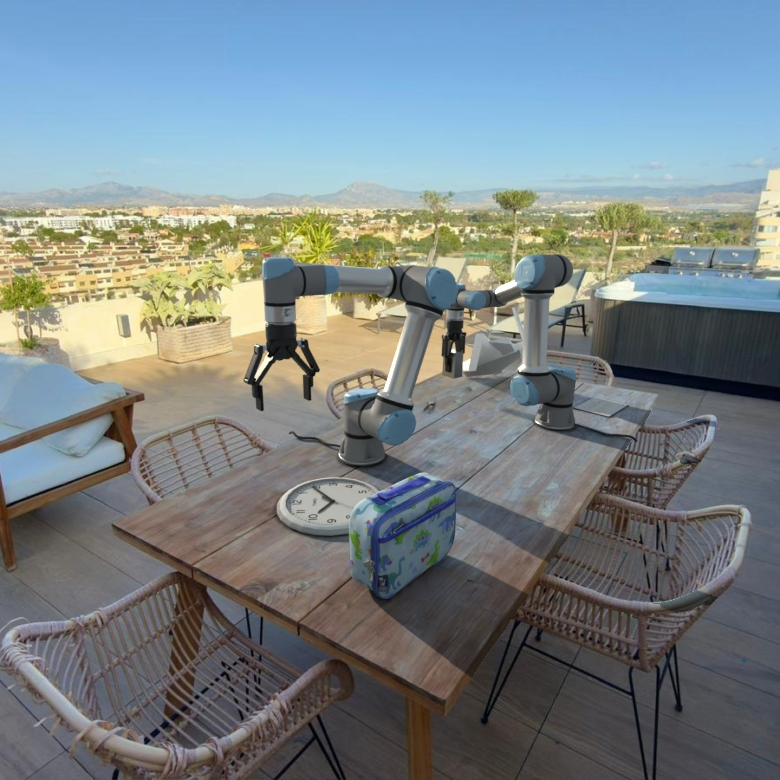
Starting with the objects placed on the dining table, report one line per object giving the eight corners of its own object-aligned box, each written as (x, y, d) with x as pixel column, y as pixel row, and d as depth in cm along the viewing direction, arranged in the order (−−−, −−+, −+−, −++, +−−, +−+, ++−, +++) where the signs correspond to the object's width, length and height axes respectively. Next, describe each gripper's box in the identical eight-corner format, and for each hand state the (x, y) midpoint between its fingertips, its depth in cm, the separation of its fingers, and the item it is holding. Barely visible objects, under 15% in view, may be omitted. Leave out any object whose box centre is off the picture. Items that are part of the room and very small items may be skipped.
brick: (442, 375, 238) (443, 350, 234) (450, 373, 241) (451, 348, 237) (454, 378, 232) (455, 353, 229) (462, 376, 235) (463, 351, 232)
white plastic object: (482, 418, 266) (461, 395, 241) (463, 346, 288) (443, 318, 264) (553, 394, 254) (538, 368, 229) (528, 321, 276) (512, 289, 251)
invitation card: (608, 416, 214) (573, 407, 224) (608, 416, 214) (573, 408, 224) (628, 404, 229) (594, 396, 238) (628, 405, 229) (594, 397, 238)
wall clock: (392, 527, 129) (268, 531, 127) (391, 533, 130) (269, 537, 127) (383, 473, 158) (282, 475, 155) (383, 478, 158) (282, 480, 156)
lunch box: (377, 612, 103) (378, 518, 97) (342, 586, 111) (341, 497, 104) (459, 557, 121) (465, 475, 115) (425, 538, 128) (428, 460, 122)
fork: (420, 411, 216) (420, 406, 216) (430, 400, 230) (431, 395, 230) (426, 412, 215) (426, 407, 215) (436, 401, 230) (436, 396, 229)
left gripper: (238, 330, 118) (245, 418, 124) (331, 319, 133) (333, 398, 139) (225, 325, 123) (232, 410, 129) (316, 315, 138) (318, 392, 145)
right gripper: (446, 322, 221) (444, 375, 227) (475, 318, 232) (472, 369, 239) (434, 320, 226) (432, 372, 233) (462, 316, 237) (460, 366, 244)
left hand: (284, 404), depth 134 cm, fingers open, 13 cm apart
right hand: (452, 370), depth 236 cm, fingers closed on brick, 5 cm apart
